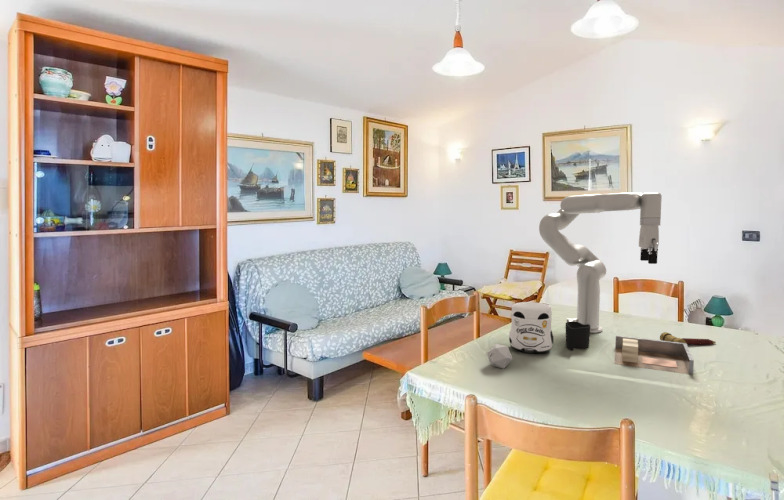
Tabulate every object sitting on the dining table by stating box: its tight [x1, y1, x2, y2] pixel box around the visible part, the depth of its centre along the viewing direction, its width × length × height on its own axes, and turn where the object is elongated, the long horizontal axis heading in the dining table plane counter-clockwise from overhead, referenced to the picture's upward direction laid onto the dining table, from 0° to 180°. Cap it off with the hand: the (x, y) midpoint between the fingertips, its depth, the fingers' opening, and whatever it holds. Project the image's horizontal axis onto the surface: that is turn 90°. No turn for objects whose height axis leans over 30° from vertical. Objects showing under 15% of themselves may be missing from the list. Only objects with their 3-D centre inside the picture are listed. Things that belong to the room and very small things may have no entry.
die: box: [486, 343, 513, 369], centre depth 166 cm, size 8×9×10 cm
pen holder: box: [565, 321, 591, 351], centre depth 184 cm, size 9×9×10 cm
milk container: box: [508, 301, 554, 354], centre depth 183 cm, size 17×17×18 cm
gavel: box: [659, 331, 716, 346], centre depth 186 cm, size 21×5×10 cm
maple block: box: [622, 338, 638, 363], centre depth 169 cm, size 9×5×6 cm, turn 153°
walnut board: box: [614, 348, 693, 376], centre depth 167 cm, size 24×20×1 cm
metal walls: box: [614, 335, 695, 376], centre depth 167 cm, size 24×20×5 cm
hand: (648, 262), depth 190 cm, fingers open, 9 cm apart
